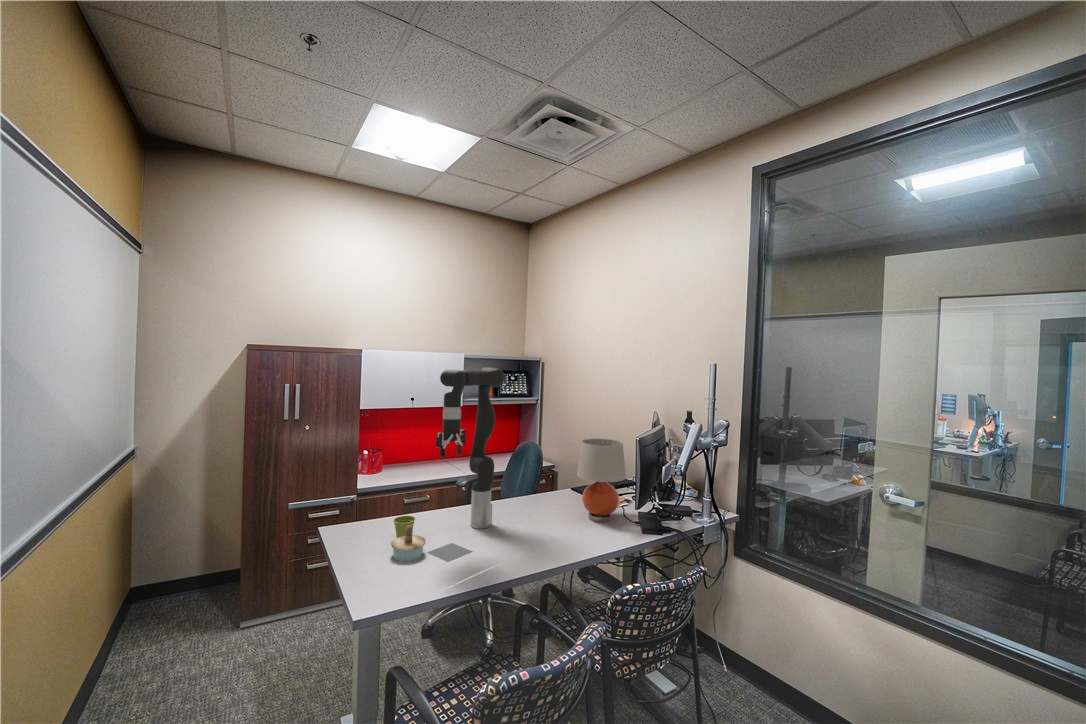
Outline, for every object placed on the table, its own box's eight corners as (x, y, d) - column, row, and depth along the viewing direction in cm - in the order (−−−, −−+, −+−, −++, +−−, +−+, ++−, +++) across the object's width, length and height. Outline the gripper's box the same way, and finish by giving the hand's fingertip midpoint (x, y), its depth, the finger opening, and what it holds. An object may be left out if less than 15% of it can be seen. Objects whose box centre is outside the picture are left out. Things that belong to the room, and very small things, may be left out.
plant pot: (392, 544, 193) (392, 523, 193) (393, 535, 202) (393, 516, 202) (415, 542, 196) (415, 522, 196) (415, 534, 205) (415, 514, 205)
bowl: (411, 548, 190) (411, 536, 190) (427, 555, 183) (428, 543, 183) (387, 556, 181) (388, 543, 181) (404, 565, 174) (404, 551, 174)
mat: (452, 544, 195) (452, 542, 195) (472, 553, 187) (472, 551, 187) (426, 553, 185) (426, 552, 185) (447, 563, 177) (447, 561, 177)
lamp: (565, 516, 234) (568, 440, 234) (597, 506, 251) (599, 436, 251) (602, 530, 216) (605, 448, 216) (634, 519, 233) (636, 443, 232)
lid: (412, 534, 191) (413, 518, 191) (432, 543, 183) (432, 526, 183) (384, 543, 181) (385, 526, 181) (403, 553, 173) (404, 535, 173)
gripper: (459, 415, 200) (458, 452, 201) (432, 417, 189) (431, 457, 189) (470, 417, 196) (469, 454, 196) (444, 419, 185) (443, 459, 185)
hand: (450, 455), depth 193 cm, fingers open, 8 cm apart
